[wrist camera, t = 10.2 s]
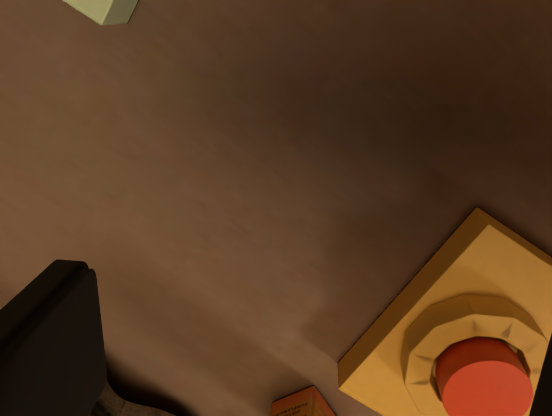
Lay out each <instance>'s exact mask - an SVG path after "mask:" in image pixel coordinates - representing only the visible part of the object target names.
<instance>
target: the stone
mask: <svg viewBox="0 0 552 416" xmlns="http://www.w3.org/2000/svg"><path fill="white" fill-rule="evenodd" d="M88 416H175V415H173V414H171V413H168V412H166V411H163V410H160V409H157V408H153V407H148V406H144V405H139V404H135V403H131V402H129V401H126V400H123V399H122V398H121V397H119V396H118V395H117V394H116V393H115V392H114V391H113V390H112V388H111V387H110V385H109V383H108V381H107V380H106V385H105V387H104V390H103V392H102V394H101V395H100V397H99V399H98V400H97V402H96V404H95V405H94V407H93V409H92V410H91V412H90V414H89V415H88Z"/></svg>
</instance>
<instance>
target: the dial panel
mask: <svg viewBox="0 0 552 416" xmlns="http://www.w3.org/2000/svg"><path fill="white" fill-rule="evenodd" d="M63 1H64V2H66V3H67V4H69V5H70V6H72V7H73V8H75V9H76V10H78V11H79V12H81V13H83V14H84V15H86V16H87V17H89V18H90V19H92V20H93V21H95V22H96V23H98V24H99V25H111V24H121V23H127V22H128V21H129V19H130V17H131V14H132V12H133V10H134V8H135V6H136V4H137V2H138V0H63Z"/></svg>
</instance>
